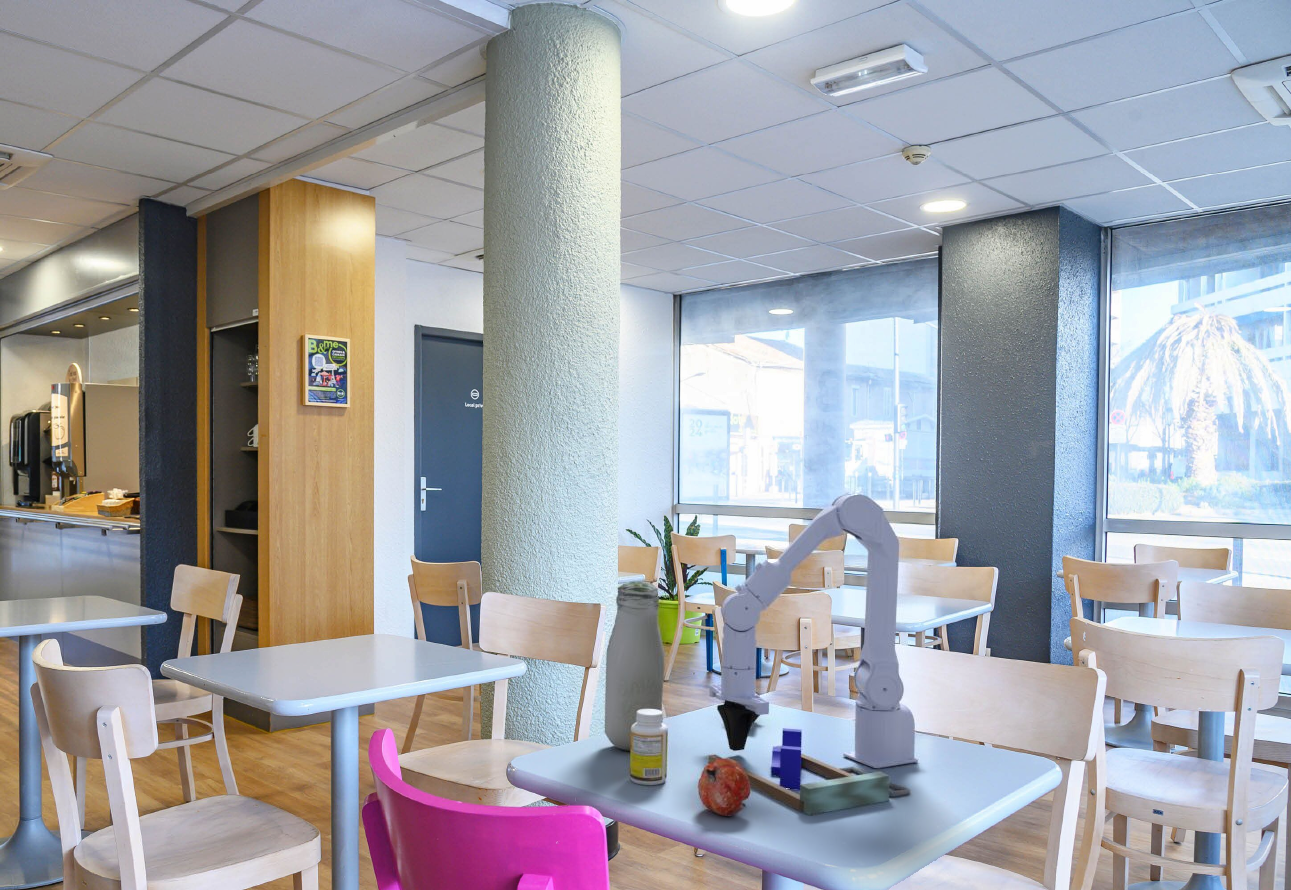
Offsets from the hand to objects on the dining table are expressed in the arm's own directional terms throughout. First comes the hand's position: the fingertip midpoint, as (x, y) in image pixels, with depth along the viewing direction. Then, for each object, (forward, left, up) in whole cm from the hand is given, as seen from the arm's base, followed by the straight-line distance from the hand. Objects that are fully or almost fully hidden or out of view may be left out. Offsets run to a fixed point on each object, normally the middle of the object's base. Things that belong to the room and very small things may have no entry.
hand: (736, 749), depth 152 cm
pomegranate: (+17, +22, -1) cm, 28 cm away
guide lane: (0, +15, -1) cm, 15 cm away
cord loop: (-10, +21, -1) cm, 23 cm away
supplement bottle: (+20, +6, -1) cm, 21 cm away
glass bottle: (+14, -10, -1) cm, 17 cm away
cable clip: (0, +12, -1) cm, 12 cm away
